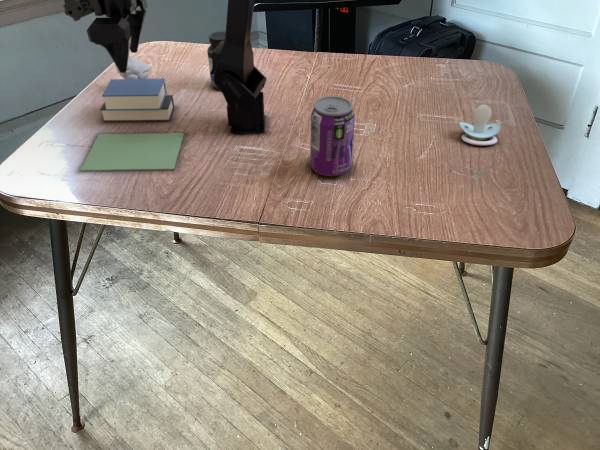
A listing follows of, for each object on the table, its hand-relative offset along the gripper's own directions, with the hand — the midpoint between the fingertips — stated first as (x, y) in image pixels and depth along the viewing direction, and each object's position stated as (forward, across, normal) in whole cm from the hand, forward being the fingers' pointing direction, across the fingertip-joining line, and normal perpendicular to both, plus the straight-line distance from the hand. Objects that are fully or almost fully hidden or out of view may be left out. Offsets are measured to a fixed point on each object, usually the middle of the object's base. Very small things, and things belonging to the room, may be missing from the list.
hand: (129, 62), depth 102 cm
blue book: (+8, 0, 0) cm, 8 cm away
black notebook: (+11, 0, 0) cm, 11 cm away
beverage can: (+11, +20, +37) cm, 43 cm away
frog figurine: (+11, -12, -3) cm, 17 cm away
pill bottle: (+11, -13, +16) cm, 23 cm away
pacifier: (+11, +11, +65) cm, 67 cm away
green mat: (+11, +14, +2) cm, 18 cm away
